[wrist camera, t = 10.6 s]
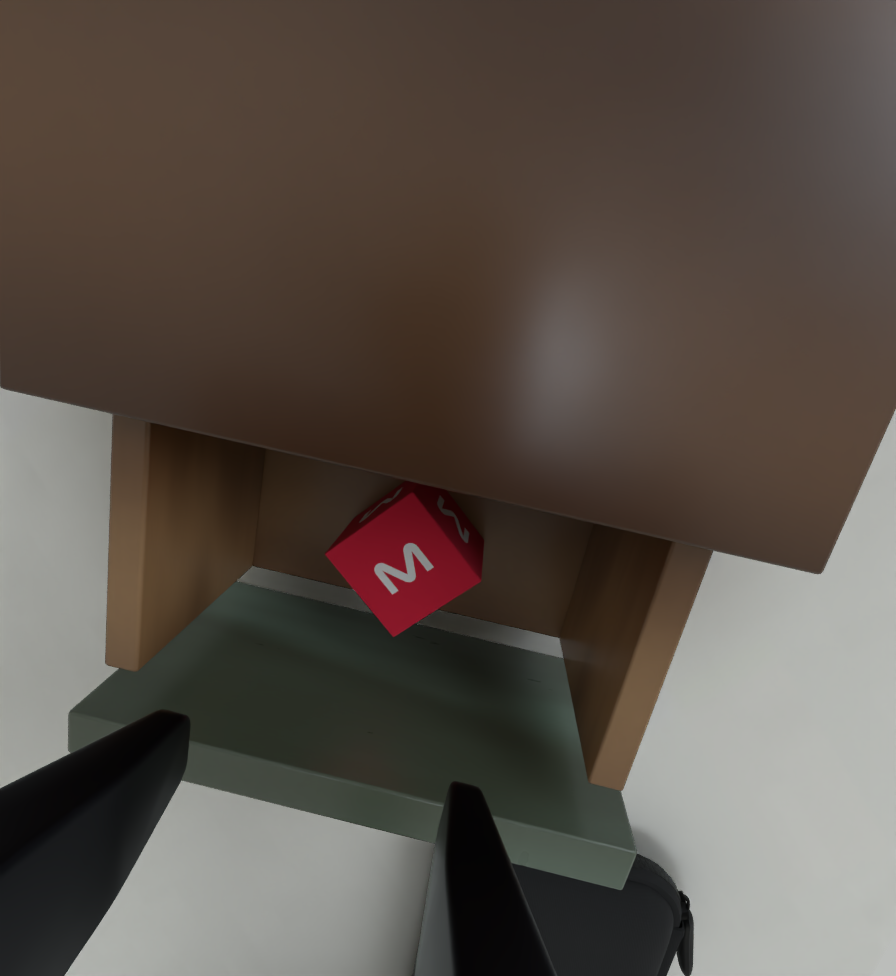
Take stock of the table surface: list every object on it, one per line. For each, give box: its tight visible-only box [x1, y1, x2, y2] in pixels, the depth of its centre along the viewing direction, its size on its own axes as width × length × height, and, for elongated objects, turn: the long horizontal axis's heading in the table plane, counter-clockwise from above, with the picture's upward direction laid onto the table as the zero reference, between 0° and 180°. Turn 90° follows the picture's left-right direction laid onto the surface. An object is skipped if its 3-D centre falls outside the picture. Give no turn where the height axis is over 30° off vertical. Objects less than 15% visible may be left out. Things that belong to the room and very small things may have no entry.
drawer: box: [68, 414, 713, 890], centre depth 14 cm, size 15×13×7 cm
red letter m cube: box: [325, 481, 484, 637], centre depth 16 cm, size 3×3×3 cm
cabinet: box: [0, 0, 896, 574], centre depth 12 cm, size 15×15×9 cm
